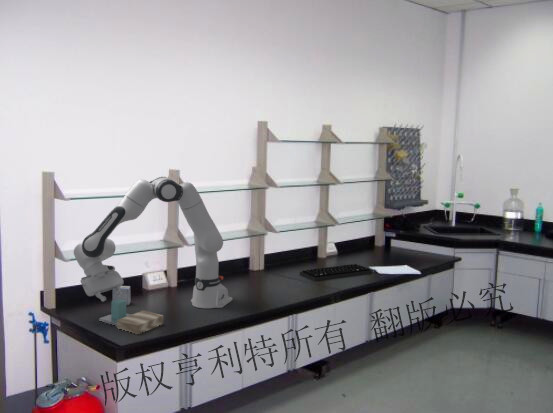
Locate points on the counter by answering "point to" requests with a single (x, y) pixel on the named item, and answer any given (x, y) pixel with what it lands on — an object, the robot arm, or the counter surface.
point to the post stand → (110, 319)
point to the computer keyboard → (335, 272)
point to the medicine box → (123, 294)
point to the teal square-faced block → (118, 309)
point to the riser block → (140, 322)
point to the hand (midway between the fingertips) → (112, 298)
